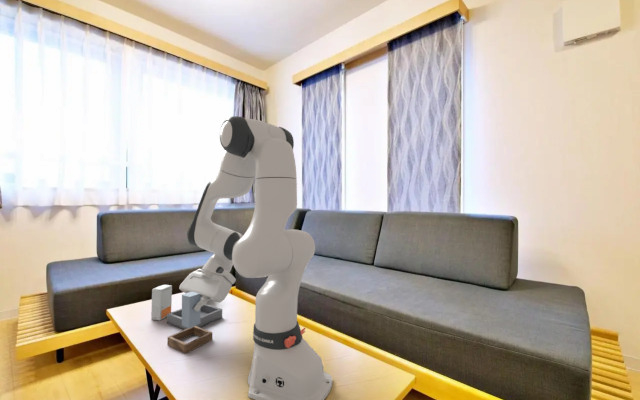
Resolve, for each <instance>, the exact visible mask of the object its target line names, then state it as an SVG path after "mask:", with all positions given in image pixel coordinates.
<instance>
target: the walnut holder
mask: <svg viewBox="0 0 640 400" xmlns="http://www.w3.org/2000/svg"><path fill="white" fill-rule="evenodd" d="M193 335H195V336H198V337H197V338H196V339H193V340H191V341H190V342H184V341H183V340H184V339H186V338H188V337H190V336H193ZM212 340H213V332H212V331H209V330H208V329H205V328H203V327H201V328H200V327H197V326H194V327H191V328H187V329H185V330H183V329H182V330H181V331H178V332H176V333H174V334H172V335H169V336H167V346H169V347H171V348H173V349H175V350H177V351H180V352H182V353H183V354H188V353H190V352H191V351H194V350H195V349H197V348H200V347H201V346H203V345H206V344H207V343H209V342H211V341H212Z"/></svg>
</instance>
